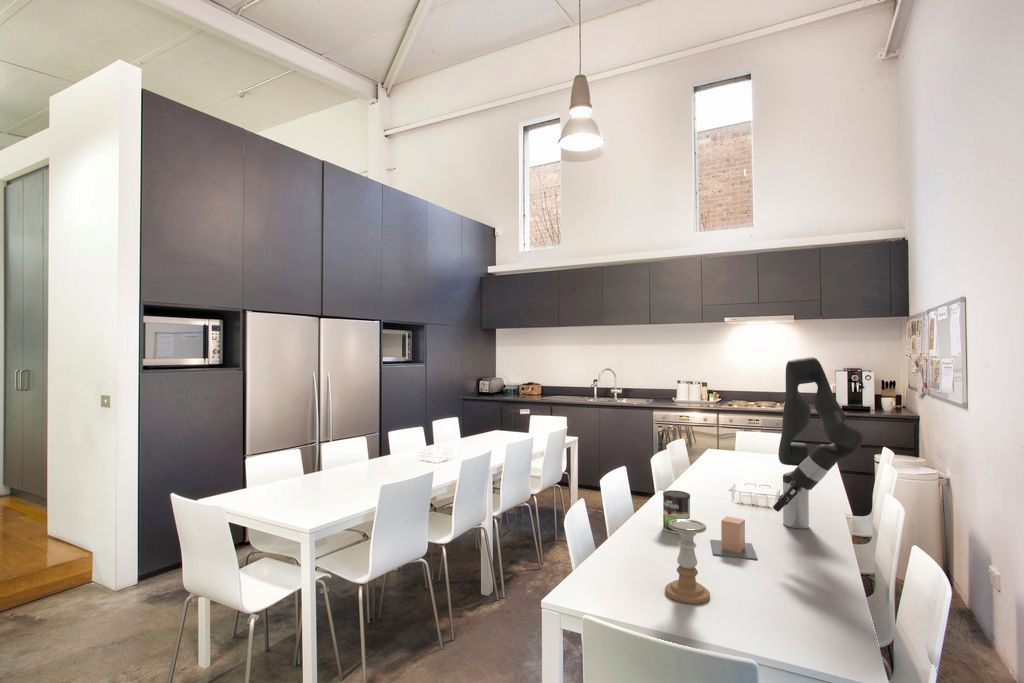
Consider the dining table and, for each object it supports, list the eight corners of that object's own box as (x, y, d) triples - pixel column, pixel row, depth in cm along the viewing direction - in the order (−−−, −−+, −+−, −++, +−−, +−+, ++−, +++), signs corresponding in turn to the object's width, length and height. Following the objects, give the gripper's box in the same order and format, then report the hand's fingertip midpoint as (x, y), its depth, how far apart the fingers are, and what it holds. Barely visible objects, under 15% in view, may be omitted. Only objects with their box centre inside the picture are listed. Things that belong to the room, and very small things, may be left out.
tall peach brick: (726, 544, 195) (726, 516, 195) (744, 548, 191) (744, 519, 191) (721, 549, 190) (721, 520, 190) (739, 553, 186) (739, 523, 186)
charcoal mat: (710, 540, 200) (710, 539, 200) (751, 544, 195) (751, 543, 196) (713, 555, 185) (713, 553, 185) (757, 560, 181) (757, 558, 181)
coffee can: (680, 535, 205) (680, 498, 205) (657, 529, 213) (657, 493, 213) (695, 530, 212) (695, 494, 212) (672, 523, 219) (672, 488, 220)
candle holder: (719, 601, 151) (719, 528, 151) (681, 607, 147) (681, 532, 148) (692, 583, 163) (692, 516, 163) (656, 588, 159) (656, 519, 159)
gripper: (802, 459, 186) (772, 491, 192) (796, 469, 174) (763, 503, 181) (823, 474, 182) (791, 507, 189) (817, 486, 171) (783, 520, 177)
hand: (777, 505), depth 185 cm, fingers open, 8 cm apart
